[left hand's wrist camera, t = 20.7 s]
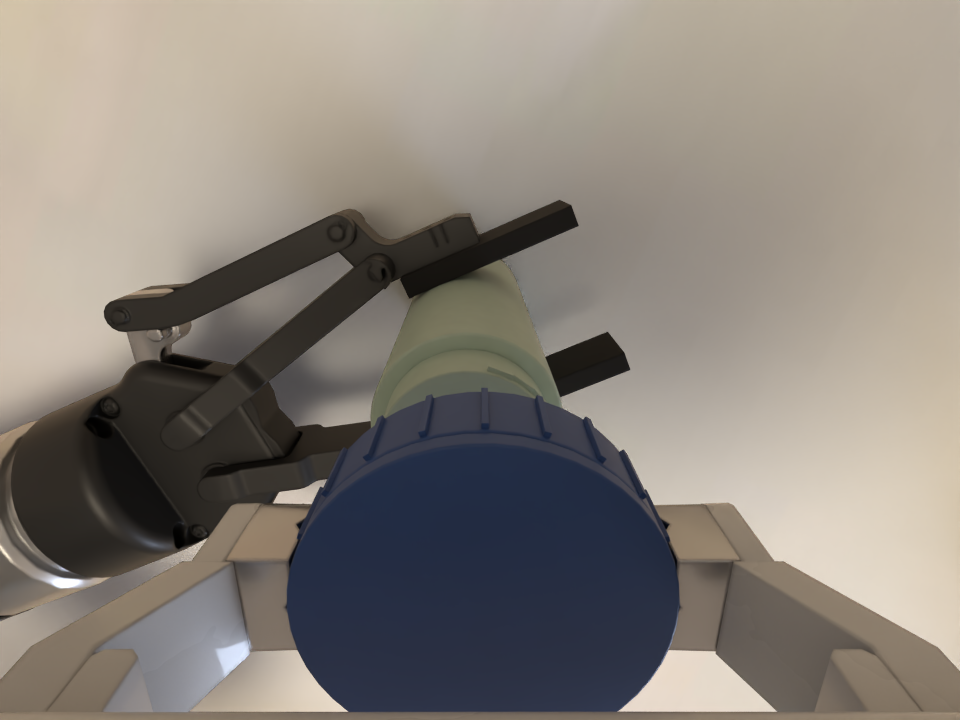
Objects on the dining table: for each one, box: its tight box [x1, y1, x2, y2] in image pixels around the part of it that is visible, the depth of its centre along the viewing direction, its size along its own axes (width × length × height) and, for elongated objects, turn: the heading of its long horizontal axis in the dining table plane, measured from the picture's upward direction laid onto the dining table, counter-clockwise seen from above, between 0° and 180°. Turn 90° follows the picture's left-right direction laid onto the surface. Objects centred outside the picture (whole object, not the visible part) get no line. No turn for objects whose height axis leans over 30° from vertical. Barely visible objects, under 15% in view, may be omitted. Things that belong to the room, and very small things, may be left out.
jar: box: [371, 260, 562, 428], centre depth 21 cm, size 5×5×16 cm
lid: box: [287, 388, 680, 712], centre depth 9 cm, size 6×6×2 cm
